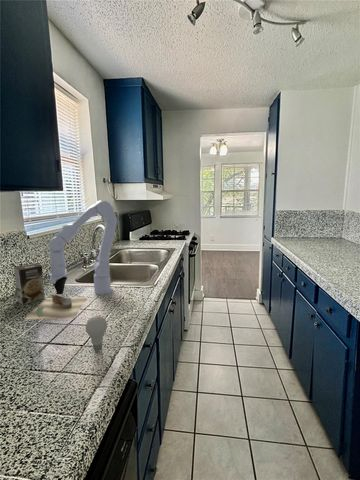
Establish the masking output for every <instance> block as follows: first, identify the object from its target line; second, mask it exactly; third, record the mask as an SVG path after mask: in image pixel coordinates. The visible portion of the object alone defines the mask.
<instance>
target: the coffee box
mask: <svg viewBox="0 0 360 480" xmlns="http://www.w3.org/2000/svg"><path fill="white" fill-rule="evenodd" d="M13 270H14V272H13V273H14V280H15V293H16V302H18V303H20V304H21V305H23V306H24V305H27V304H30V303H34V302H37V301H40V300H43V299H44V300H45V299H46V297H45V289H44V288H45V287H44V284H45V283H44V275H43V274H44V273H43V265H41V264H37V263H32V264H31V263H30V264H27V265H21V266H16V267H14V268H13Z"/></svg>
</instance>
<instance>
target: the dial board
mask: <svg viewBox="0 0 360 480" xmlns="http://www.w3.org/2000/svg"><path fill="white" fill-rule="evenodd" d="M64 298H71V302H72V306H71V307H69V308H62V305H60V304H57V303H54V302H53V301H52V297H45V298H44V300H43V301H42V302H41V303H40V304H39V305H37V307H36V308H35V309H33V310H32V311H31V312H30V313H29V314H28V315H27V316H26V317H25V318H24V320H27V321H28V320H49V319H50V320H51V319H75V318H76V317H77V315H78V313H79V311H80V310H81V308H82V307H83V305H84V304H85V303H86V301H87V300H88V298H89V296H72V297H69V296H68V297H64Z"/></svg>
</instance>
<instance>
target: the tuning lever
mask: <svg viewBox="0 0 360 480" xmlns="http://www.w3.org/2000/svg"><path fill="white" fill-rule="evenodd" d="M50 296H51V298H52V301H53V302H54V303H57V304H60V305H62V308H69V307H71V306H72V302H71V298H64V297H63V296H62V295H61V296H60V295H59V294H51V295H50Z"/></svg>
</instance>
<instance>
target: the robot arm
mask: <svg viewBox="0 0 360 480" xmlns="http://www.w3.org/2000/svg"><path fill="white" fill-rule="evenodd" d="M99 215H100V217H102V219H103V220H104V221H105V224H104V227H103V228H104V229H103V234H102V236H101V237H102V239H101V244H100V247H99V252H98V255H97V256H96V260H95V262H94V263H93V265H92V267H93V268H92V269H93V271H94V274H93V289H94V290H93V291H94V294H96V295H107V294H112V292H113V287H111V286H112V285H111V275H110V272H111V271H110V270H111V268H110V256H111V252H112V251H111V250H112V246H113V242H114V237H115V234H116V228H117V224H118V219H117V218H118V217H117V216H116V212H115V210H114V207H113V205H112V204H111V203H110V202H109V201H107V200H97V201H96V202H95V203H93V204H92V205H90V206H89V207H88V208H87V209H85V211H84V212H83V213H82V214H81V215H80V216H79V217H77V218H76V219H75V221H74V222H73V223H67V224H66V225H65V224H64V225H63V226H62V229H61V230H60V231H59V232H58V233H55V234H54V235H53V237H51V238H50V240H49V242H48V247H49V253H50V254H49V259H50V260H49V261H50V269H51V270H50V273H49V274H48V276H49V277H50V279H49V284H50V285H53V287H54V289H55V292H56V295H63V294H64V291H65V284H66V283H67V280H68V277H67V274H68V270H67V268H66V257H65V256H66V255H65V251H64V248H65V245H66V244H68V243H69V242H70V241H71V240H72V239H73V238H74V237H75V236H77V235H78V232H79V230H78V229H80V228H81V227H82V226H83V225H84V224H85V223H87V221H89V220H90V219H91V218H94V217H98V216H99Z"/></svg>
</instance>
